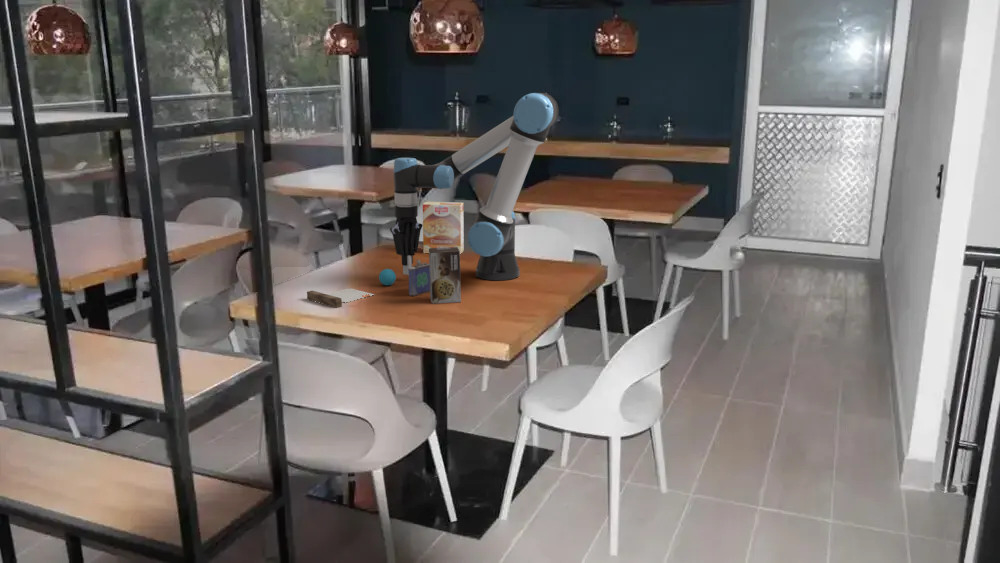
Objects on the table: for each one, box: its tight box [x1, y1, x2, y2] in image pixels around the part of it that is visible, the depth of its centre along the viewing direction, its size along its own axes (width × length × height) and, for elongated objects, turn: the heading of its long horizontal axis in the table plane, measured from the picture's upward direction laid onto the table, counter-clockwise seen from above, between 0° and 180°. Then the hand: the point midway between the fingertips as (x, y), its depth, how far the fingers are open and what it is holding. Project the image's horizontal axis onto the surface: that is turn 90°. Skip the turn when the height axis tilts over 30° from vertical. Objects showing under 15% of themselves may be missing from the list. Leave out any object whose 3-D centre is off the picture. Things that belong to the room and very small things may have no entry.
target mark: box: [326, 287, 376, 304], centre depth 256 cm, size 12×12×1 cm
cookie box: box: [428, 247, 462, 305], centre depth 249 cm, size 9×6×16 cm
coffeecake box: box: [422, 201, 465, 254], centre depth 315 cm, size 15×7×20 cm, turn 83°
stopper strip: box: [306, 290, 343, 309], centre depth 247 cm, size 14×2×2 cm, turn 50°
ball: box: [378, 268, 397, 287], centre depth 268 cm, size 6×6×6 cm
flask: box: [408, 259, 430, 297], centre depth 258 cm, size 9×3×11 cm, turn 141°
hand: (407, 274), depth 275 cm, fingers closed
